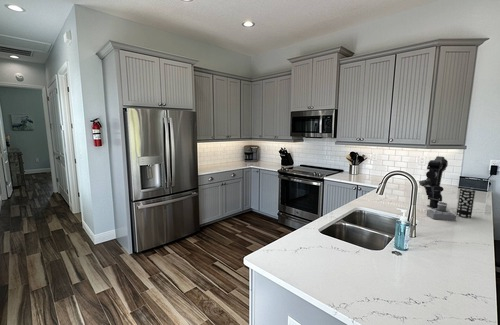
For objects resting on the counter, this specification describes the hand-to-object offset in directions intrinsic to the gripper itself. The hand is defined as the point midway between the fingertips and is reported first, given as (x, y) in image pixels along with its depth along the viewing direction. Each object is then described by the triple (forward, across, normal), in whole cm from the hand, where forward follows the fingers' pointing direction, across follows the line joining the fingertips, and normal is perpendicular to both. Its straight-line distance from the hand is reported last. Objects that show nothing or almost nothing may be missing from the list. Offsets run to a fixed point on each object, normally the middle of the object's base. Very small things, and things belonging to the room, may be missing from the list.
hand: (430, 197), depth 183 cm
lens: (+8, +12, +2) cm, 14 cm away
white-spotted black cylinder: (+12, +4, +21) cm, 25 cm away
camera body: (+12, +12, +2) cm, 17 cm away
